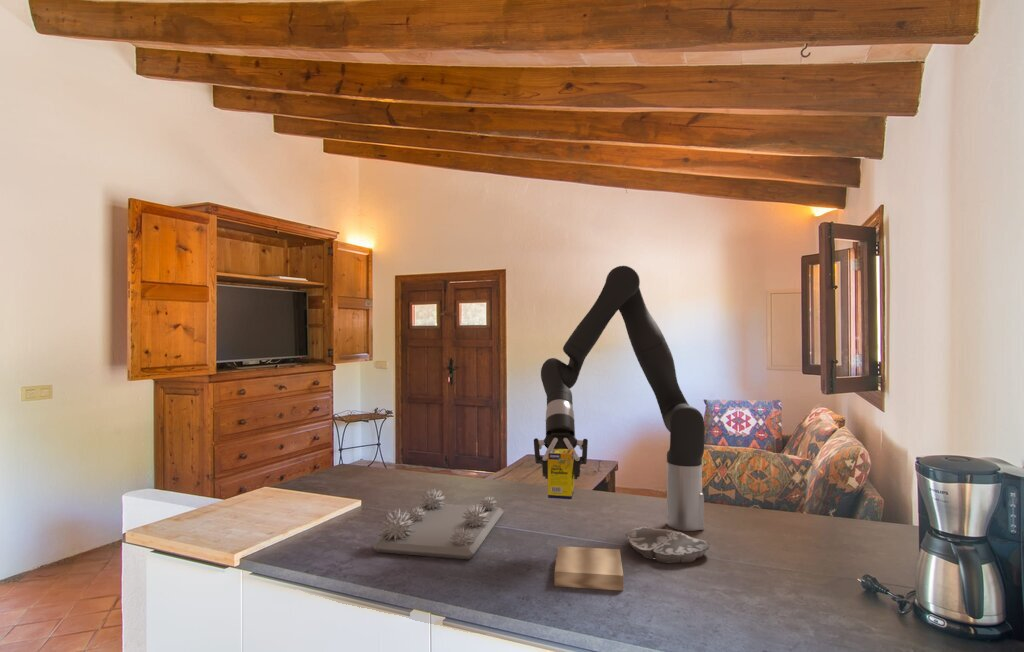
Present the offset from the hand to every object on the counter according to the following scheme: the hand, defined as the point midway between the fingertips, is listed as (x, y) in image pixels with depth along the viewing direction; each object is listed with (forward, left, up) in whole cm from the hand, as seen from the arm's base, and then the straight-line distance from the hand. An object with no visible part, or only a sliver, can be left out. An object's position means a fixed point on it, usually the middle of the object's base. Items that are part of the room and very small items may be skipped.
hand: (561, 477), depth 130 cm
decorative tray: (+32, -9, -19) cm, 38 cm away
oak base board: (-7, +11, -18) cm, 22 cm away
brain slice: (-25, -4, -18) cm, 31 cm away
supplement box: (0, -2, -5) cm, 5 cm away
